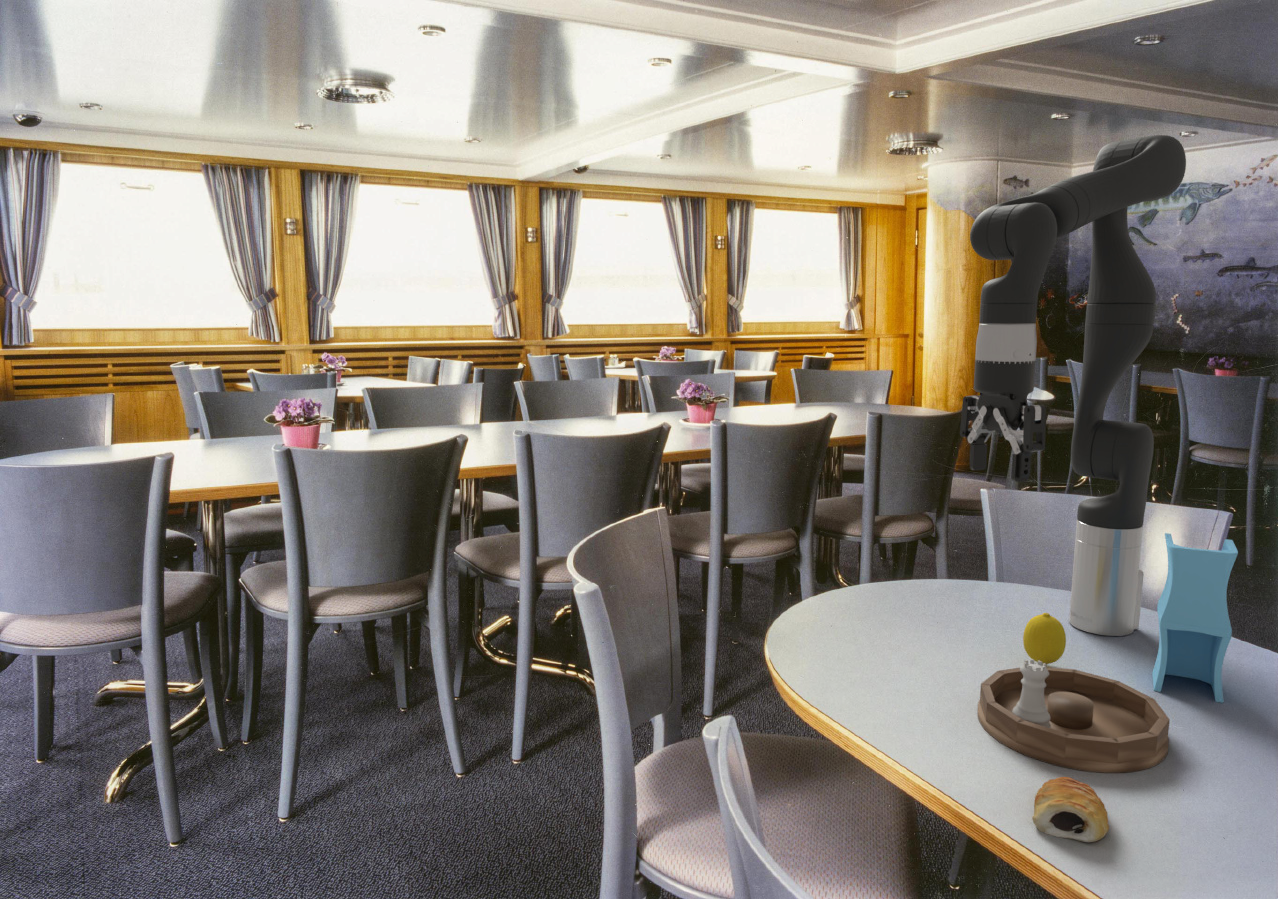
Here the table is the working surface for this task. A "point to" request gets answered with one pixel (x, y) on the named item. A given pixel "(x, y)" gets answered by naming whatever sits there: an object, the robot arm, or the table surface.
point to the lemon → (1044, 639)
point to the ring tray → (1079, 748)
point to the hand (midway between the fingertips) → (997, 475)
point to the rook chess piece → (1033, 694)
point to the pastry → (1070, 810)
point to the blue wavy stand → (1194, 615)
